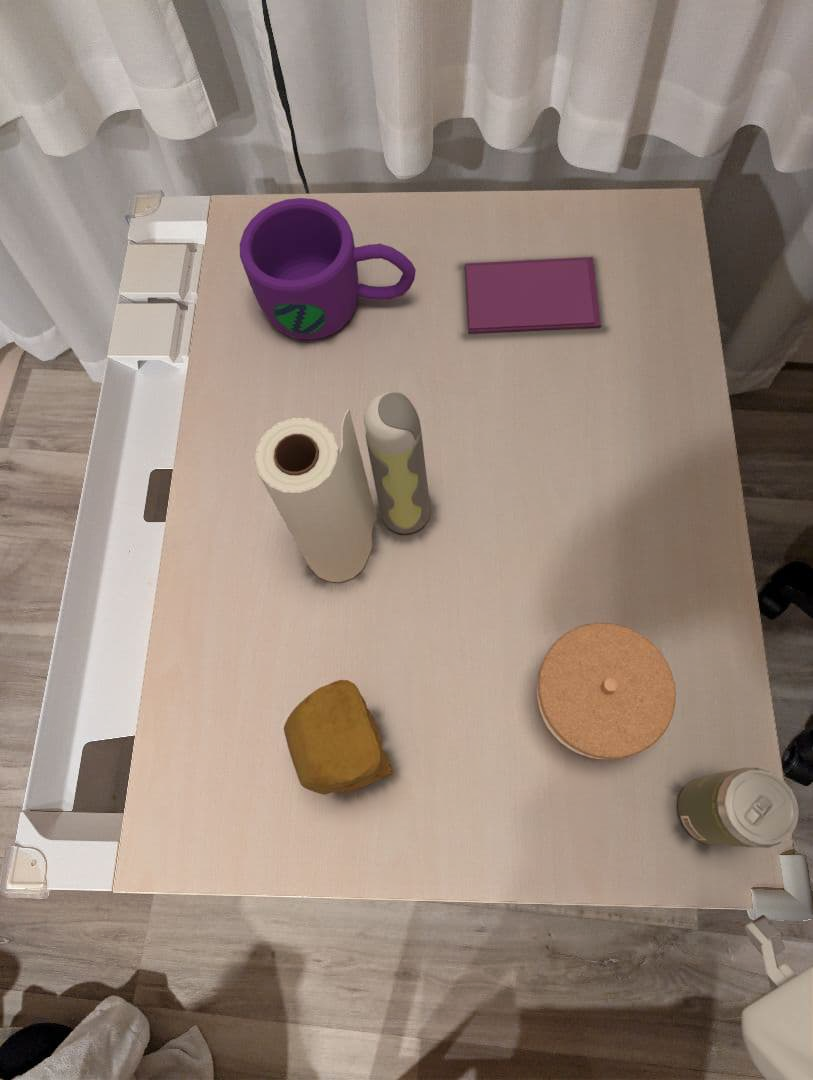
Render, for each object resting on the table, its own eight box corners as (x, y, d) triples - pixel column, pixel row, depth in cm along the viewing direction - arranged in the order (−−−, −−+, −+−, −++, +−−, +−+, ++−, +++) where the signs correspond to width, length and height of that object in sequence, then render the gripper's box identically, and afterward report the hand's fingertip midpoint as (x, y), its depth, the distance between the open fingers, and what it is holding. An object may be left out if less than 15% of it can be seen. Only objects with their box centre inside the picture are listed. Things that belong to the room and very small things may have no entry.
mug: (255, 348, 83) (230, 287, 74) (267, 263, 87) (244, 195, 78) (415, 349, 82) (411, 287, 73) (420, 263, 86) (416, 194, 77)
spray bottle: (379, 493, 77) (354, 384, 58) (427, 487, 76) (418, 376, 58) (383, 538, 75) (359, 441, 56) (433, 532, 75) (425, 433, 56)
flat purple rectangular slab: (592, 259, 85) (593, 254, 84) (600, 327, 82) (601, 323, 81) (465, 265, 86) (465, 261, 85) (468, 333, 83) (468, 329, 82)
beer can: (714, 859, 63) (770, 866, 52) (662, 810, 65) (705, 805, 53) (754, 811, 64) (818, 807, 53) (702, 763, 66) (753, 749, 55)
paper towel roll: (310, 588, 73) (257, 498, 53) (304, 530, 76) (250, 422, 56) (385, 576, 73) (359, 481, 53) (376, 518, 76) (348, 406, 56)
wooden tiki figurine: (401, 781, 67) (386, 767, 53) (329, 809, 66) (296, 803, 52) (374, 704, 69) (353, 673, 55) (305, 731, 69) (266, 706, 55)
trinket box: (618, 790, 65) (643, 784, 57) (507, 723, 68) (515, 707, 59) (673, 683, 68) (705, 661, 60) (565, 622, 71) (581, 592, 62)
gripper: (1177, 945, 39) (932, 780, 52) (851, 1166, 37) (676, 937, 49) (1171, 1016, 42) (940, 842, 54) (866, 1226, 40) (697, 994, 52)
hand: (812, 889), depth 52 cm, fingers open, 8 cm apart
